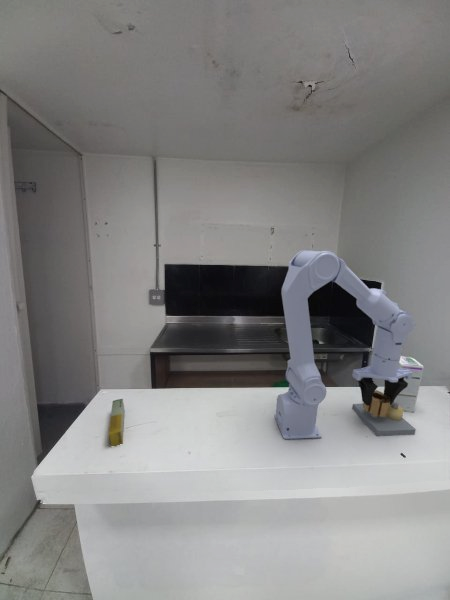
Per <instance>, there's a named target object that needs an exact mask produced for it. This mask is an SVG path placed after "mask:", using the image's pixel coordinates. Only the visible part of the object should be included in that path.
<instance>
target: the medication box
mask: <svg viewBox="0 0 450 600" xmlns="http://www.w3.org/2000/svg"><path fill="white" fill-rule="evenodd" d="M125 412H126V411H125V404H124V399H123V398H120V399H119V398H118V399H115V400H112V405H111V412H110V419H109V428H108V441H109V445H110V447H111V446H115V447H118V446H117V445H119V446H121V445H120V444H122V445H123V444H124V434H125V433H124V431H125V430H124V428H125V416H126V415H125Z"/></svg>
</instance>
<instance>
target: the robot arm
mask: <svg viewBox="0 0 450 600" xmlns="http://www.w3.org/2000/svg"><path fill="white" fill-rule="evenodd" d="M330 282H333V283H336V284H337V285H338V286H340V287H341V288H342V289H343V290H345V291H346V292H347V293H349V294H350V295H351V296H353V298H355V299H356V306H357V308H358V309H360V310H361V311H362V312H363V313H364V314H366V315H367V316H368V317H369V318H370V319H371V320H372V321H371V322H372V324H373V325H374V326H376V331H375V336H374V337H375V338H374V342H373V347H372V354H371V360H370V364H369V365H368V366H365V367H362V368H357V369H353V370H352V374H351V375H352V377H353V378H354V379H355V380H356V381H357V383H358V385H359V388H360V389H359V390H360V393H361V401H362V402H363V403H365V404H366V405H367V406H370V404H371V401H372V396H373V394H374V392H375V391H376V390H377V389H378V387H379V385H377V384H376V383H375V382H374V380H375V379H378V380H382V381H383V380H384V389H383V394H386V395H387V396H388V397H389V398H390V399H391V400H390V405H391V404H392V403H393V401H394V400H395V398H396V397H397V395H398V394H399V393H400V392H401V391H402V390H403V389H405V388H406V387H407V386H408V383H407V382H406V381H404V378H406V379H411V377H412V372H411V371H409V370H408V369H402V368H398V366H399V361H400V357H401V356H402V351H403V349H404V348H403V347H404V343H405V342H406V341H407V340H408V338H409V337H408V336H409V334H410V333H412V331H413V330H414V328H415V326H416V323H415V322H414V321H415V320H414V318H413V317H412V314H410V312H408V311H405V310H402V309H400V307H399V304H398V303H397V302H394V301H392V300H391V299H389V298H388V296H386V295H387V292H386V291H385V290H384V289H380V288H373V287H372V288H369V287H368V286H367V285H366V284H365V283H364V281H363V280H361V279H360V278H359V277H358V276H357V275H356V273H355V272H353V270H352V269H351V268H349V266H348V265H347V263H346V262H345V260H343V259H342V258H340V257H338V256H337V254H336V253H334V252H333V251H330V250H322V251H317V250H309V249H303V250H300V251H298V252H297V253H296V254H295V255H294V256H293V258H291V259H290V260H289V262H288V270H287V272H286V276H285V279H284V282H283V284H282V287H281V293H280V294H281V300H282V306H283V314H284V322H285V327H286V328H285V329H286V335H287V342H288V348H289V349H288V350H289V357H290V359H288V360H287V362H286V363H287V368H286V371H285V379H286V381H287V382H288V383H289V384H288V390H287V392H284V393H280V394H278V395H277V397H276V406H275V407H276V408H275V414H274V419H275V421H276V423H277V426H278V428H279V430H280V433H281V435H282V438H283V439H284V440H293V439H294V440H297V439H317V438H319V439H321V438H322V436H323V435H322V434H321V432H320V430H319V429H318V427H317V426H316V421H317V415H318V408H319V405H320V404H321V403H322V402H323V401H324V400H325V398H326V396H327V387H326V386H325V384H324V383H323V381H322V376H321V373H320V371H319V369H318V367H317V365H316V362H315V356H314V355H315V354H314V348H313V347H314V345H313V344H314V343H313V337H312V328H311V326H312V325H311V321H310V320H311V318H310V311H309V308H310V307H309V302H308V298H310V296H311V295H312V294H313V293H314V292H315V291H317V290H319V289H320V288H322V287H323V286H325V285H327V284H328V283H330ZM373 379H374V380H373Z"/></svg>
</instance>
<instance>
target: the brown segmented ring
mask: <svg viewBox="0 0 450 600" xmlns="http://www.w3.org/2000/svg"><path fill="white" fill-rule="evenodd" d="M390 400H391V399H390V398H389V397H388V396H387V395H386V394H384V392H382V391H378V390H377V389H376V390H375V392H374V394H373V396H372V401H371V404H370V406H367V405H366V404H365V403H364V402H363V403H362V404H363V408H364V409H365V410H366V411H367V412H370V414H373V415H375V416H377V415H378V416H379V417H386V416H387V414H388V409H389V405H390Z"/></svg>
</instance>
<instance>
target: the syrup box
mask: <svg viewBox="0 0 450 600" xmlns="http://www.w3.org/2000/svg"><path fill="white" fill-rule="evenodd" d="M398 368H402V369H408V370H409V371H411V372H412V377H411V379H406V378H404V381H406V382H407V383H408V386H407V387H406V388H405V389H403V390H402V391H401V392H400V393H399V394H398V395H397V397H396V398H395V400H394V401H393V402H395V403H397V404H399V406H401V407H402V408H403V410H404V412H409V413H414V412H415V409H416V403H417V399H418V395H419V391H420V386H421V382H422V378H423V373H424V369H425V366H424V365H423V364H422V363H420V362H419V360H416V359H415V358H414V357H411V356H406V355H401V357H400V361H399V366H398Z"/></svg>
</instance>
